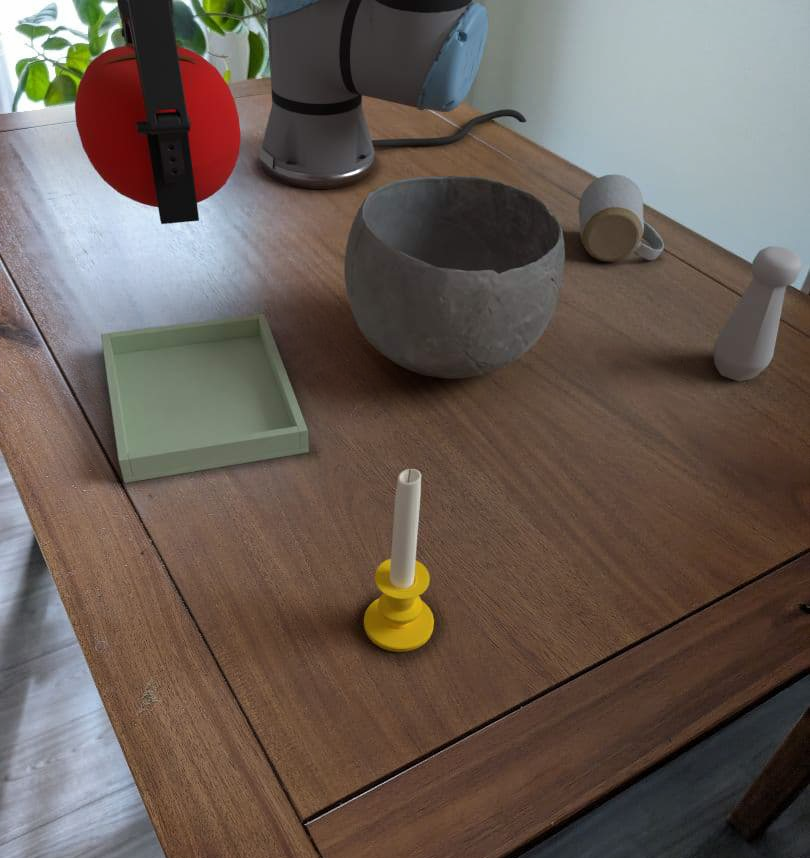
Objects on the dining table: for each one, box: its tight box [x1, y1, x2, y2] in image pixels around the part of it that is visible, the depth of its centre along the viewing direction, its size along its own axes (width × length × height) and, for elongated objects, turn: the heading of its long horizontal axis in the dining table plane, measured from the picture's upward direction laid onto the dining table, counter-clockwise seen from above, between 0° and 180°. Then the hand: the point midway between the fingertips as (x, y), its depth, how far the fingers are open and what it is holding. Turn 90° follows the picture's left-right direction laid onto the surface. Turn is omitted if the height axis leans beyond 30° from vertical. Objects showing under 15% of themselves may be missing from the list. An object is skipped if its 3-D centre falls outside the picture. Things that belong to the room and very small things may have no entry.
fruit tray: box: [100, 313, 310, 484], centre depth 80 cm, size 16×19×3 cm
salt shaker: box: [713, 246, 803, 382], centre depth 84 cm, size 6×6×13 cm
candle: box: [363, 468, 435, 653], centre depth 58 cm, size 5×5×16 cm
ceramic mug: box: [578, 174, 665, 263], centre depth 102 cm, size 11×8×8 cm
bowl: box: [344, 175, 566, 380], centre depth 83 cm, size 20×20×15 cm
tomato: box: [74, 42, 242, 208], centre depth 63 cm, size 12×12×10 cm
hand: (168, 182), depth 66 cm, fingers closed on tomato, 12 cm apart
